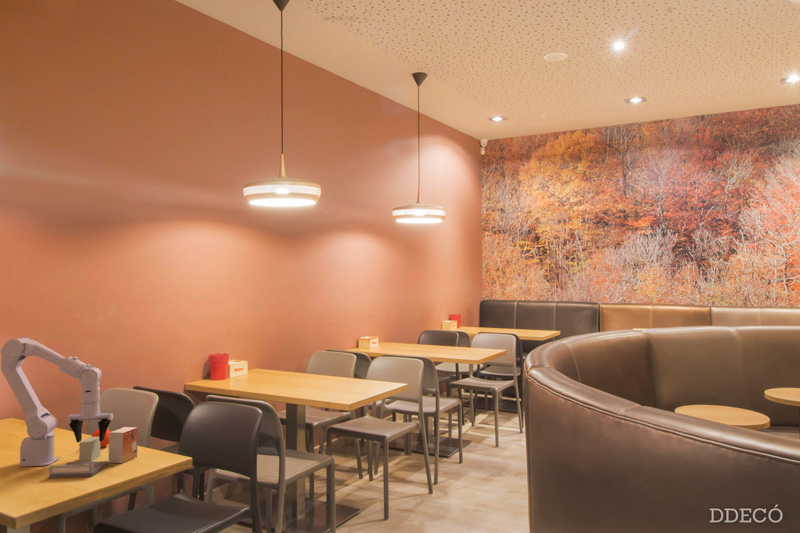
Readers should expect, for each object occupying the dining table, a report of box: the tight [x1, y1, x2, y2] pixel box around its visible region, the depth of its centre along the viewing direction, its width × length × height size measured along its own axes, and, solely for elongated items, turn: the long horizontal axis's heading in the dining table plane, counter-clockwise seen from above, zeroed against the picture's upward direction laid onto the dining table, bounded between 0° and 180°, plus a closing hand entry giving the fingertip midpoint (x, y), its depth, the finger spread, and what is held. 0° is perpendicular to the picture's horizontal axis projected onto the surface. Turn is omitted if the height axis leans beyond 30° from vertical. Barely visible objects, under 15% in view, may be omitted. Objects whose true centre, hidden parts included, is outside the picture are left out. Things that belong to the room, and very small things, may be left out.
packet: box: [78, 436, 101, 462], centre depth 196 cm, size 4×7×7 cm, turn 6°
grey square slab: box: [48, 460, 109, 479], centre depth 183 cm, size 13×12×4 cm
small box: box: [108, 426, 138, 464], centre depth 195 cm, size 8×6×10 cm
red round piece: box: [91, 427, 111, 448], centre depth 212 cm, size 8×7×7 cm
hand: (90, 441), depth 196 cm, fingers open, 7 cm apart
